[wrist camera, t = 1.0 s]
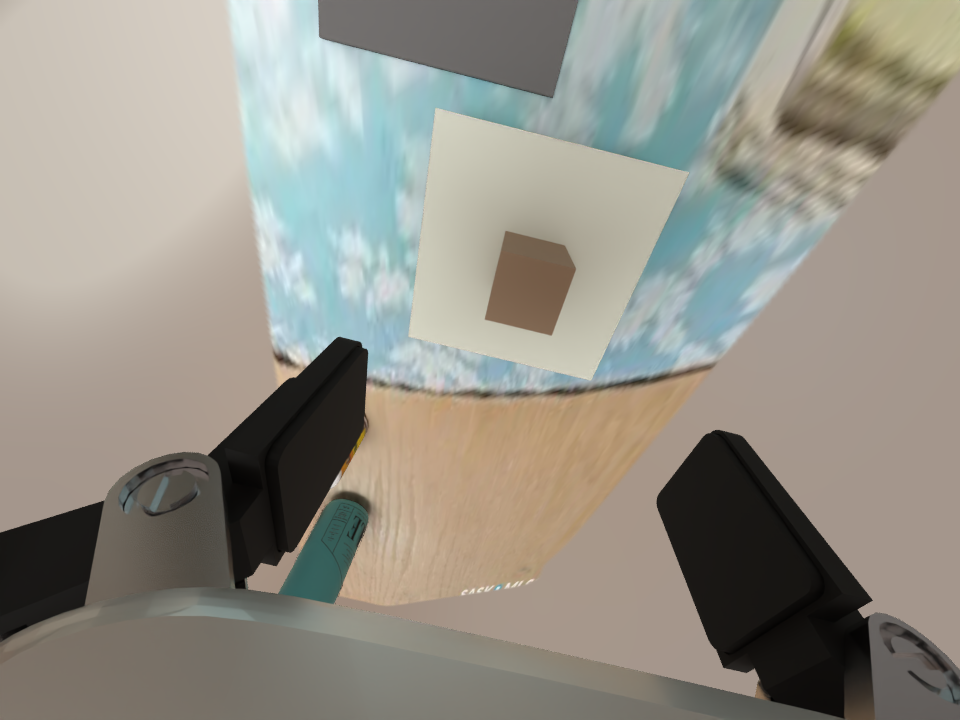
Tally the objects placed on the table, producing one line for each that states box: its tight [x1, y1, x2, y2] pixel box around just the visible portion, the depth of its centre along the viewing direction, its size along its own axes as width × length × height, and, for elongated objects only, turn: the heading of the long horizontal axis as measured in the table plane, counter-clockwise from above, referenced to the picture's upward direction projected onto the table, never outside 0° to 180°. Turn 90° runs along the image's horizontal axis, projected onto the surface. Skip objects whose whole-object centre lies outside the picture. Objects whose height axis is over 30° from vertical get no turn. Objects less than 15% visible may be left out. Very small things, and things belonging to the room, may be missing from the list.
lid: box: [408, 108, 689, 380], centre depth 22 cm, size 15×15×6 cm
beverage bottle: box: [278, 499, 368, 604], centre depth 40 cm, size 6×7×20 cm
